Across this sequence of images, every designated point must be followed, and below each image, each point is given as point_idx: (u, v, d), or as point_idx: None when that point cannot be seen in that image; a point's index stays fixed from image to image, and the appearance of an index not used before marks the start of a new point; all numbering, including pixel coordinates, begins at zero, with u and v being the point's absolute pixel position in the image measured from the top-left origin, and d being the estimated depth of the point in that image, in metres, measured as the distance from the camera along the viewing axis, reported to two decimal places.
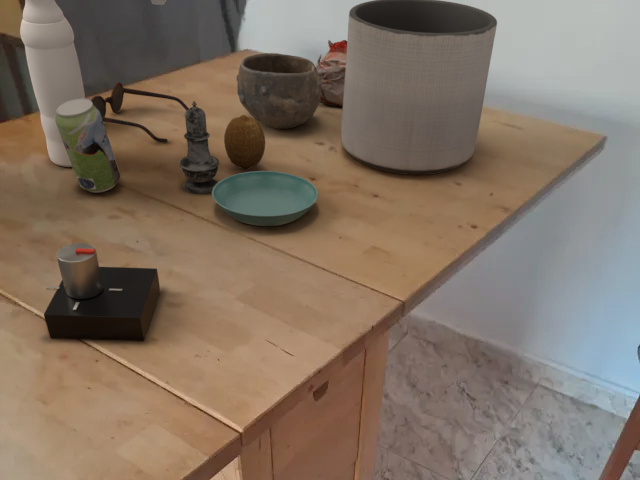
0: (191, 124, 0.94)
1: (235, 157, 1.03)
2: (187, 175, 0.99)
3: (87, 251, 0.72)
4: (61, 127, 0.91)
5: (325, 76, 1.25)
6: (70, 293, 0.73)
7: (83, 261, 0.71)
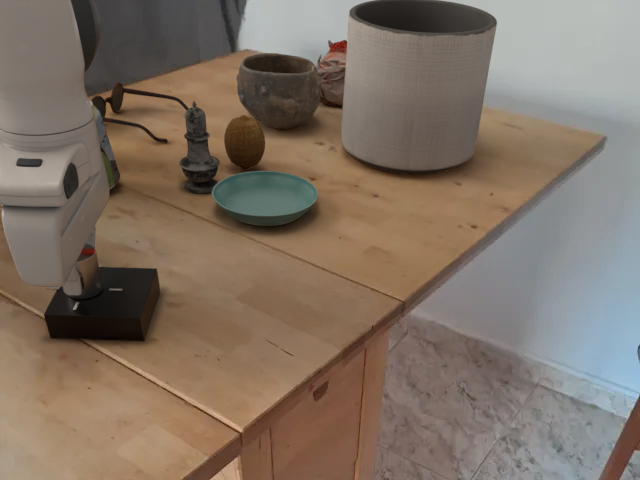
0: (191, 124, 0.94)
1: (235, 157, 1.03)
2: (187, 175, 0.99)
3: (87, 251, 0.72)
4: None
5: (325, 76, 1.25)
6: None
7: (83, 261, 0.71)
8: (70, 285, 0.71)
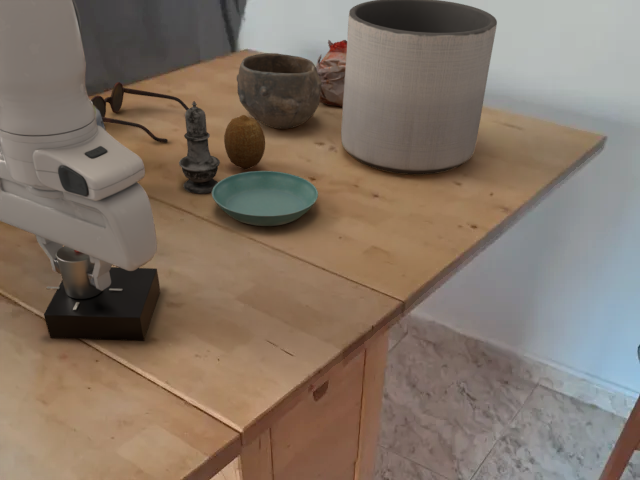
0: (191, 124, 0.94)
1: (235, 157, 1.03)
2: (187, 175, 0.99)
3: None
4: None
5: (325, 76, 1.25)
6: (89, 294, 0.73)
7: None
8: (103, 278, 0.72)
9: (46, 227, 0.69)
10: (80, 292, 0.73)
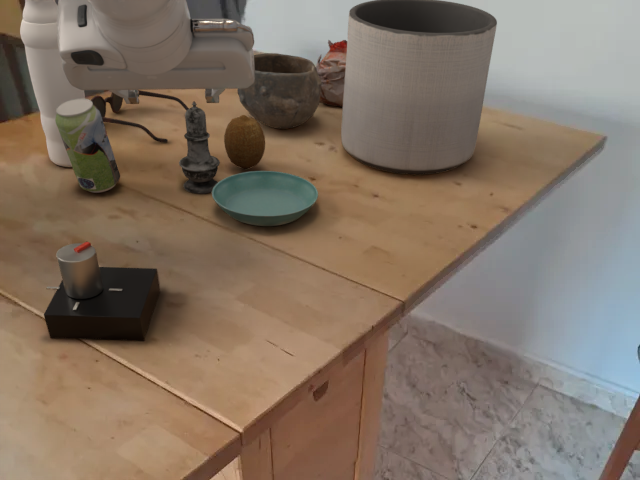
0: (191, 124, 0.94)
1: (235, 157, 1.03)
2: (187, 175, 0.99)
3: (85, 245, 0.72)
4: (61, 127, 0.91)
5: (325, 76, 1.25)
6: (89, 294, 0.73)
7: (95, 253, 0.72)
8: None
9: None
10: (80, 292, 0.73)
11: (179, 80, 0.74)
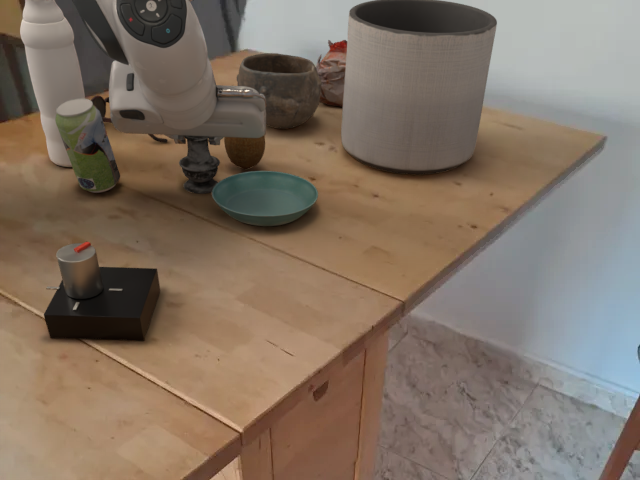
0: None
1: (235, 157, 1.03)
2: (187, 175, 0.99)
3: (85, 245, 0.72)
4: (61, 127, 0.91)
5: (325, 76, 1.25)
6: (89, 294, 0.73)
7: (95, 253, 0.72)
8: None
9: None
10: (80, 292, 0.73)
11: (204, 130, 0.91)
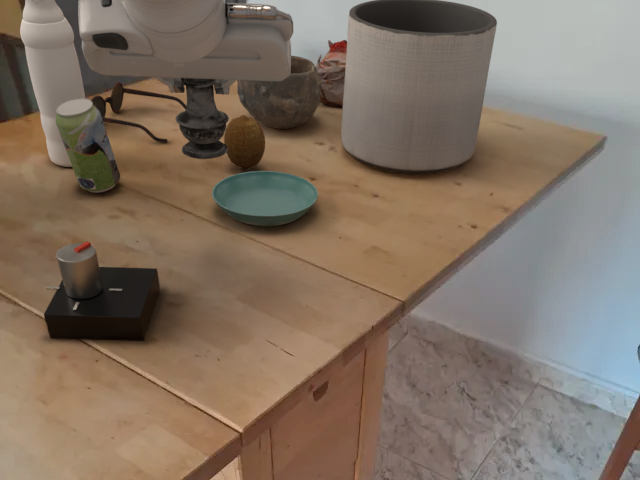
0: None
1: (235, 157, 1.03)
2: (186, 134, 0.76)
3: (85, 245, 0.72)
4: (61, 127, 0.91)
5: (325, 76, 1.25)
6: (89, 294, 0.73)
7: (95, 253, 0.72)
8: None
9: None
10: (80, 292, 0.73)
11: (209, 69, 0.68)
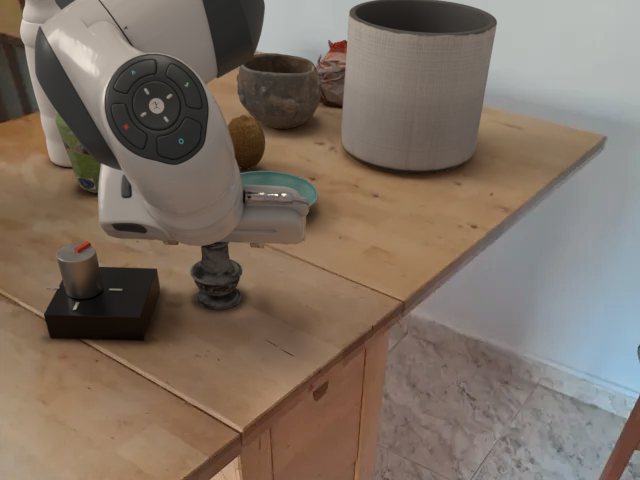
0: None
1: (235, 157, 1.03)
2: (201, 288, 0.77)
3: (85, 245, 0.72)
4: (61, 127, 0.91)
5: (325, 76, 1.25)
6: (89, 294, 0.73)
7: (95, 253, 0.72)
8: None
9: None
10: (80, 292, 0.73)
11: (225, 237, 0.69)
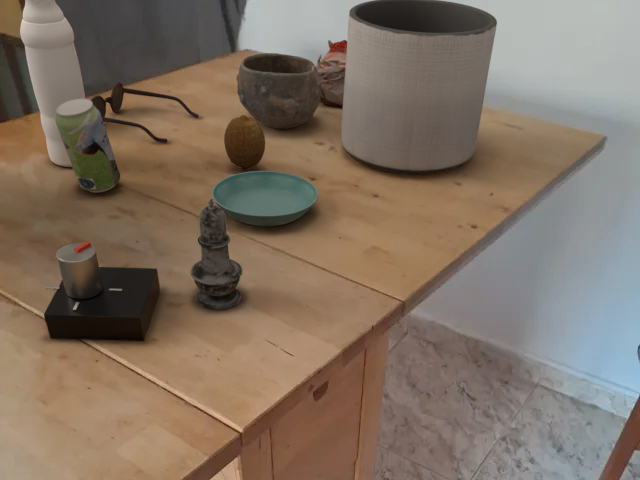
0: (207, 228, 0.73)
1: (235, 157, 1.03)
2: (201, 288, 0.77)
3: (85, 245, 0.72)
4: (61, 127, 0.91)
5: (325, 76, 1.25)
6: (89, 294, 0.73)
7: (95, 253, 0.72)
8: None
9: None
10: (80, 292, 0.73)
11: None
